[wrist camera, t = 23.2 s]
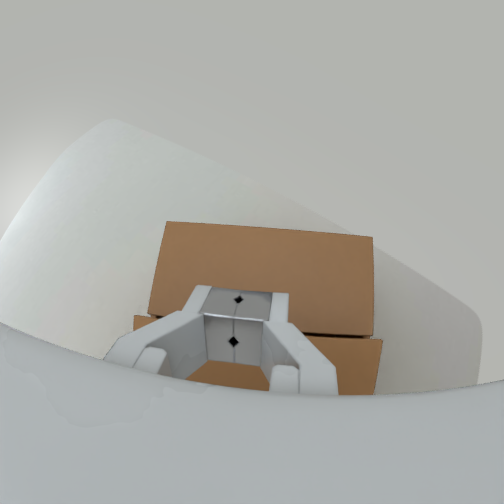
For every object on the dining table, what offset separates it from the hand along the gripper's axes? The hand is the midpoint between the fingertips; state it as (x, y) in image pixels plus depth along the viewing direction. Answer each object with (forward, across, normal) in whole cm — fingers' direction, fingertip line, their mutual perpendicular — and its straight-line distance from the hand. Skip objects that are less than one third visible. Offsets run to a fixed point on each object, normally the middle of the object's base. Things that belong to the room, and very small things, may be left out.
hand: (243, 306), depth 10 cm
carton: (+15, 0, +15) cm, 21 cm away
